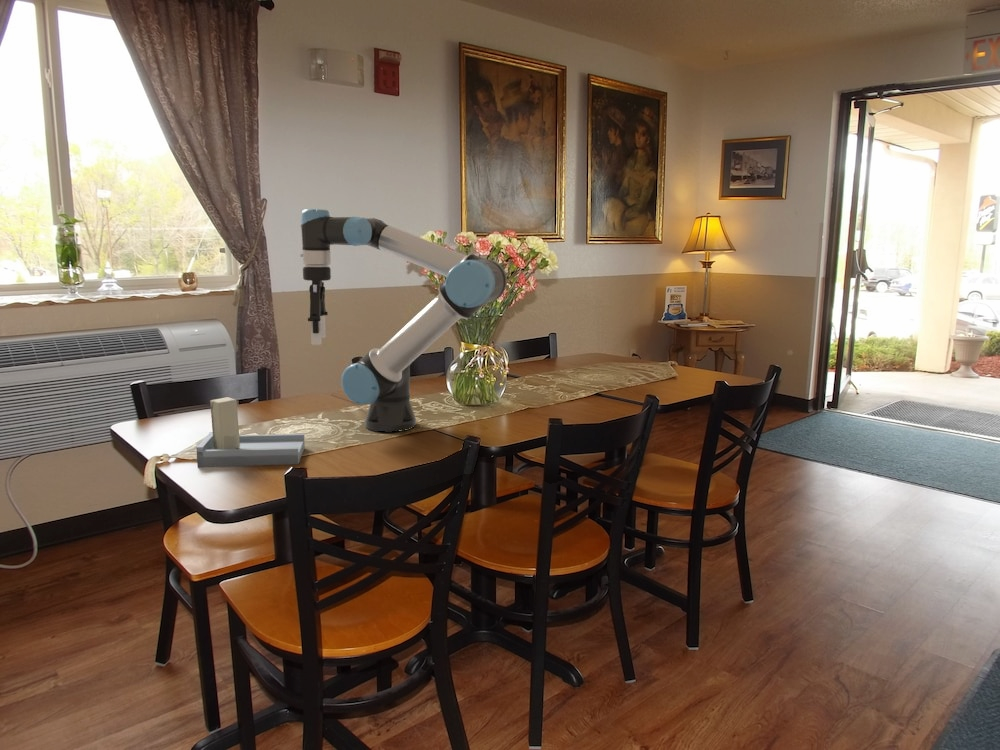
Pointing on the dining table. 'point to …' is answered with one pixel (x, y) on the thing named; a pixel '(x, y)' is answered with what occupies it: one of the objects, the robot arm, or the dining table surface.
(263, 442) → the blue-grey tray
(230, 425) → the box
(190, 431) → the dining table surface
